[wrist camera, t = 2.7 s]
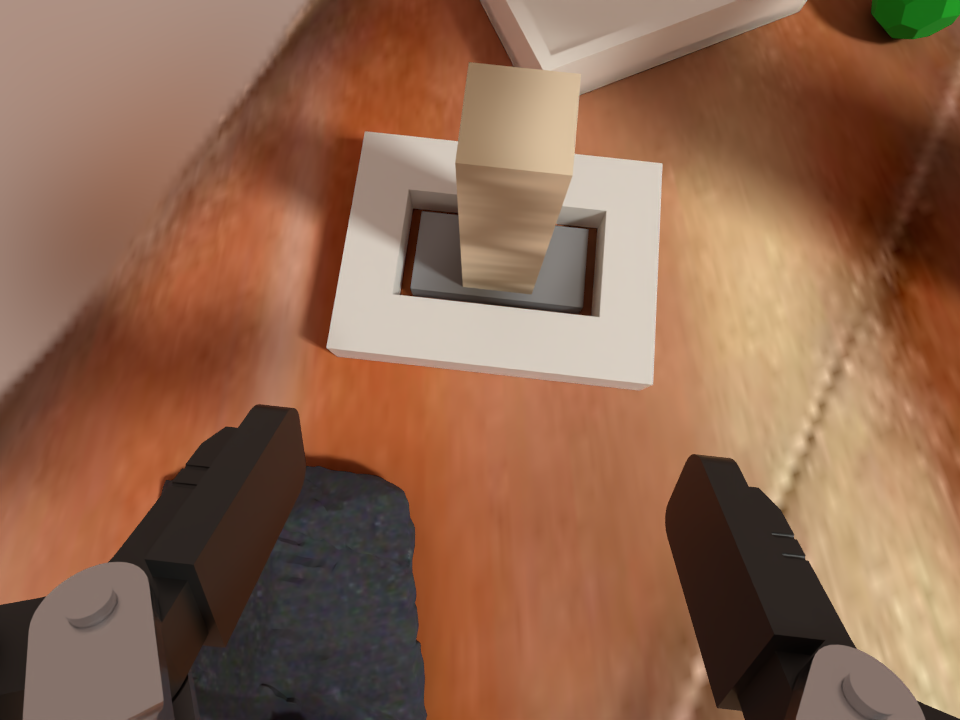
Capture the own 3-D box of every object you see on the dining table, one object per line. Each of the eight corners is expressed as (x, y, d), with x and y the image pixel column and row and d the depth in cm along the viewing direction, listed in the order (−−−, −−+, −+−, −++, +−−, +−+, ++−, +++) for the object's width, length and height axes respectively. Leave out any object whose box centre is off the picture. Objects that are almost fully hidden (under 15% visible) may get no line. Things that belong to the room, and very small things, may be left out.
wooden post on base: (583, 239, 28) (666, 72, 16) (578, 314, 27) (660, 197, 15) (424, 221, 28) (387, 42, 16) (413, 295, 27) (365, 165, 15)
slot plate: (649, 183, 29) (662, 163, 27) (639, 390, 26) (652, 384, 24) (372, 154, 29) (365, 131, 27) (337, 356, 26) (326, 348, 24)
